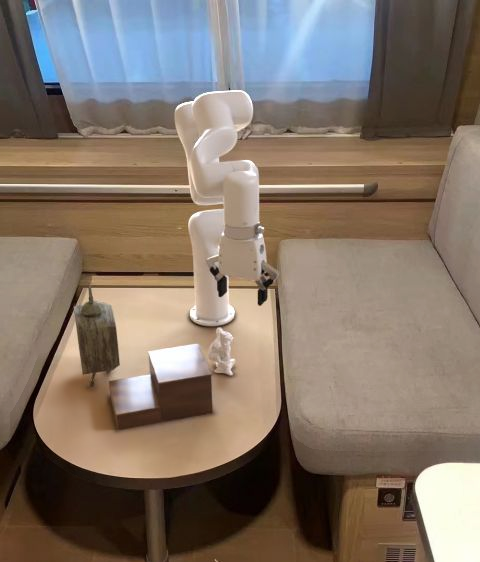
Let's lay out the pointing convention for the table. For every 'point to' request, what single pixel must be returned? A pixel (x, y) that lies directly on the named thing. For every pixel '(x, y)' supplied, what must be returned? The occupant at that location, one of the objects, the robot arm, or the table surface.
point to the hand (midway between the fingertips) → (242, 298)
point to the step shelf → (164, 389)
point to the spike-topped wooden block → (96, 337)
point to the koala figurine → (222, 352)
